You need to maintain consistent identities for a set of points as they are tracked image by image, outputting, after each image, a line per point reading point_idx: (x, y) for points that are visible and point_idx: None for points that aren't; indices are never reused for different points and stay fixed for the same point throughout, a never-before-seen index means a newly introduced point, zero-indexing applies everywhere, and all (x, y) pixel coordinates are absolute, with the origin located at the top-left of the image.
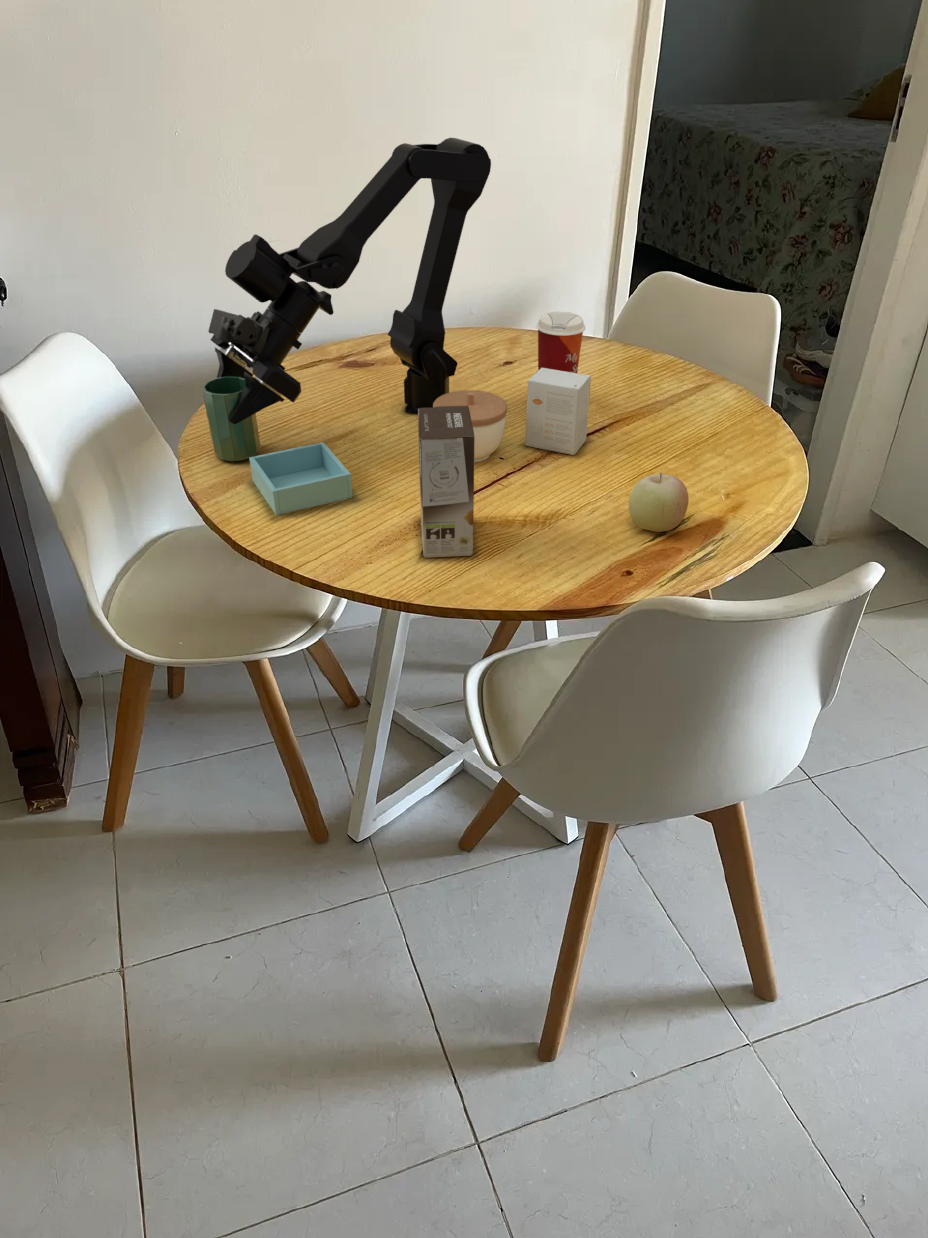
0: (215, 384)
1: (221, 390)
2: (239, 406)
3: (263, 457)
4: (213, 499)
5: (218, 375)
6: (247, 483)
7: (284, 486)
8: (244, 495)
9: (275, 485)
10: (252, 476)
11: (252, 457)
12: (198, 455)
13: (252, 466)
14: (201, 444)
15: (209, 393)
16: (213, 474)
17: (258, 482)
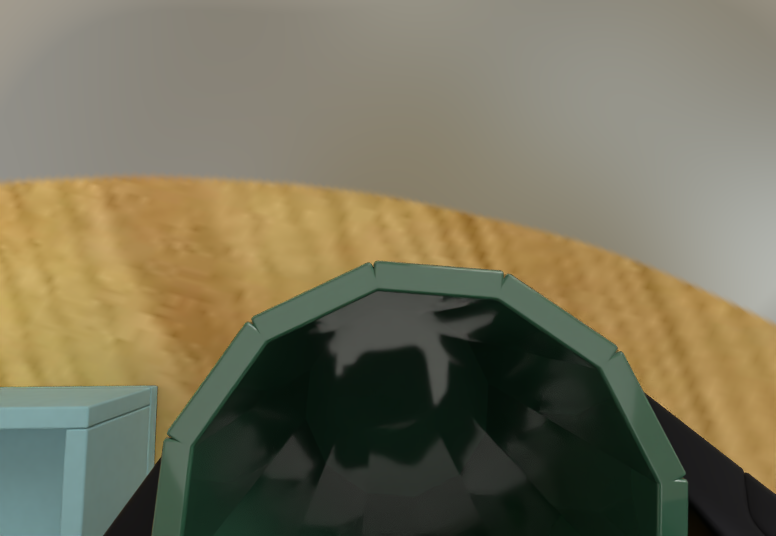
0: (613, 433)
1: (590, 463)
2: (116, 517)
3: (67, 474)
4: (109, 218)
5: (768, 520)
6: (168, 365)
7: (32, 491)
8: (81, 328)
9: (58, 459)
10: (128, 390)
11: (78, 421)
12: (485, 252)
13: (61, 401)
14: (577, 286)
15: (287, 300)
16: (300, 266)
17: (19, 394)
